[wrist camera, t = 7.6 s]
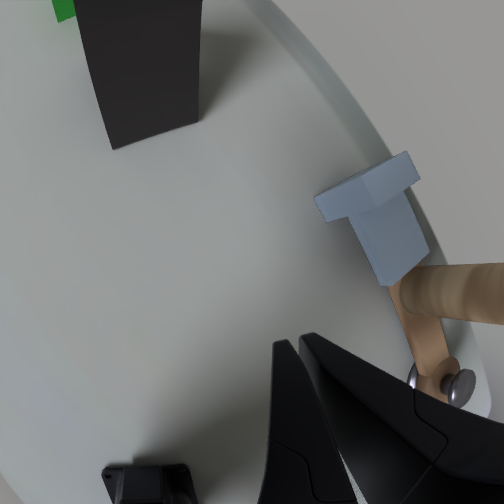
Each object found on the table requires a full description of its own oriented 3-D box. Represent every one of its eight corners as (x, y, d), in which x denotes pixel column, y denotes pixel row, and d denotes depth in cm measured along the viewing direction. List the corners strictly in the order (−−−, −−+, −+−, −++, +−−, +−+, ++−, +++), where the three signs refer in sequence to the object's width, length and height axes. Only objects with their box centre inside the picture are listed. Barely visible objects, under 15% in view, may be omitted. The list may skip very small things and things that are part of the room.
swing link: (452, 380, 25) (571, 411, 11) (421, 413, 24) (543, 462, 10) (395, 211, 24) (555, 173, 10) (353, 239, 22) (536, 208, 9)
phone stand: (197, 124, 20) (240, -3, 9) (112, 151, 19) (74, 32, 7) (162, 33, 20) (181, -90, 9) (88, 54, 18) (66, -68, 7)
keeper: (395, 254, 24) (450, 250, 19) (357, 284, 23) (412, 287, 17) (356, 173, 24) (406, 150, 18) (313, 197, 22) (361, 175, 17)
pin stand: (443, 393, 26) (478, 405, 21) (404, 413, 24) (440, 430, 20) (447, 342, 26) (484, 349, 21) (407, 357, 24) (447, 369, 20)
